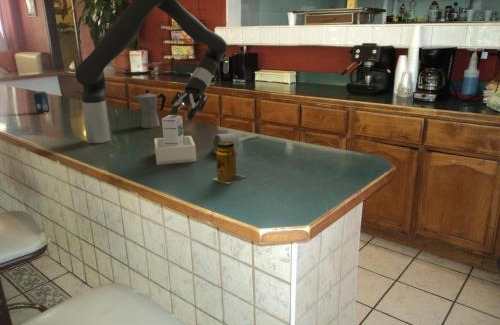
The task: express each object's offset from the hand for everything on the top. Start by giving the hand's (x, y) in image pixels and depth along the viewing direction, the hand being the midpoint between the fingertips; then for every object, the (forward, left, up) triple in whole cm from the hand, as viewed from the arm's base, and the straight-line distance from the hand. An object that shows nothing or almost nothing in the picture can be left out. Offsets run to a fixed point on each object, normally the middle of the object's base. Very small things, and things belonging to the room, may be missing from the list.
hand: (180, 117), depth 147 cm
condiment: (+12, -30, -15) cm, 35 cm away
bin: (-3, -3, -14) cm, 15 cm away
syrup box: (-3, -2, -14) cm, 14 cm away
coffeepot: (-10, +52, -15) cm, 55 cm away
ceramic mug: (+16, -1, -15) cm, 22 cm away
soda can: (-71, +105, -15) cm, 128 cm away
